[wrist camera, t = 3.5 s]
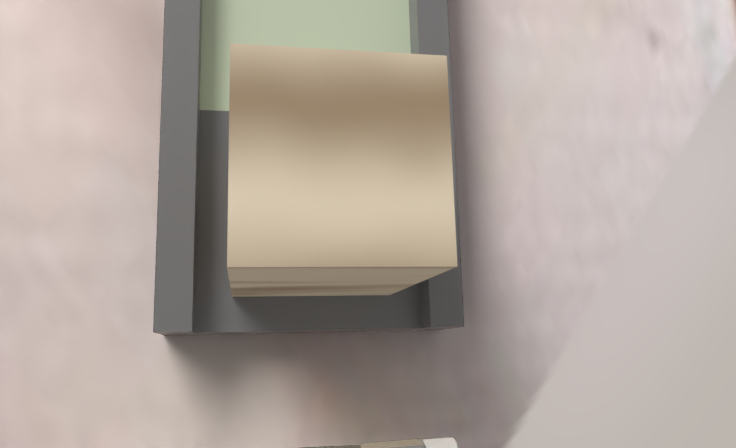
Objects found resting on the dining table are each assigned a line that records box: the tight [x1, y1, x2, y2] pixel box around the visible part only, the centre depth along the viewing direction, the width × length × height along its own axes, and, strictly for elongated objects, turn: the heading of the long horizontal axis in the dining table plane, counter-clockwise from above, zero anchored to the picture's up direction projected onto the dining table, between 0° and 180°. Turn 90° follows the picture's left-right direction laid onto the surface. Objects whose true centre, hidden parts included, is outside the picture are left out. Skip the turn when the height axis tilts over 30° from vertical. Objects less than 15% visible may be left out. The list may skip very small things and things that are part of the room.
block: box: [227, 43, 458, 297], centre depth 26 cm, size 7×7×10 cm
